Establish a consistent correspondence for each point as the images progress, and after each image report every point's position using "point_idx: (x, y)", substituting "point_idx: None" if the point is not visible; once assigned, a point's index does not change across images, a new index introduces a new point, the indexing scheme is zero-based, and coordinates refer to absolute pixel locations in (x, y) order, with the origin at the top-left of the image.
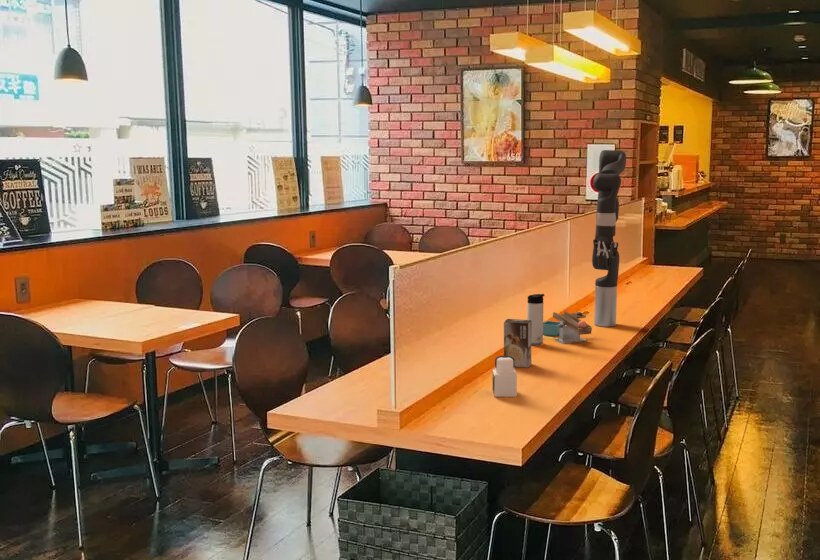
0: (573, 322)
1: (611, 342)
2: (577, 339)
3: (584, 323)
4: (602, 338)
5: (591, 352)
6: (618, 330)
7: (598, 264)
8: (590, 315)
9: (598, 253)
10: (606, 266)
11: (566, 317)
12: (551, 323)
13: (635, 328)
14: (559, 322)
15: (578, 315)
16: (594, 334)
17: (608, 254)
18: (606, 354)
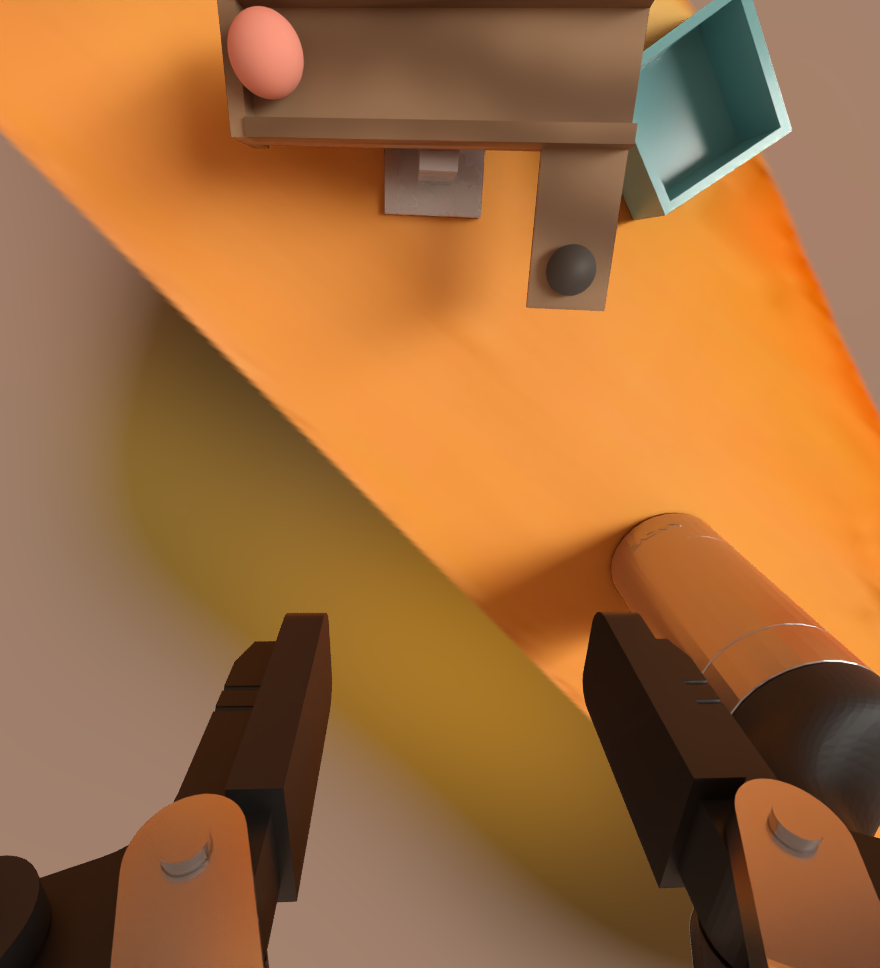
0: (423, 83)
1: (302, 339)
2: (416, 159)
3: (229, 48)
4: (410, 356)
5: (83, 19)
6: (528, 544)
7: (616, 616)
8: (861, 618)
9: (788, 883)
10: (314, 615)
11: (551, 98)
12: (742, 149)
13: (522, 632)
14: (691, 186)
15: (553, 248)
16: (515, 378)
17: (117, 965)
18: (6, 87)
